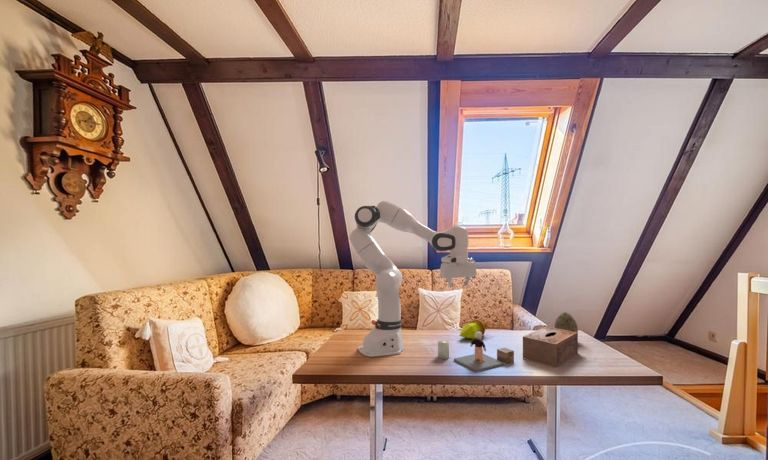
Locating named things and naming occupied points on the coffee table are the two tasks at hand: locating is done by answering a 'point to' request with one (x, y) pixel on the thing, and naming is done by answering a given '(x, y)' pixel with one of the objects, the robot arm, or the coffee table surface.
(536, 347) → the tissue box cover
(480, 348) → the grandmother figurine
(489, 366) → the slate mat
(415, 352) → the coffee table surface
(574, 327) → the decorative egg
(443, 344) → the sage green capsule
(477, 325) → the plumb bob
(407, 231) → the robot arm
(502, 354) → the walnut block
